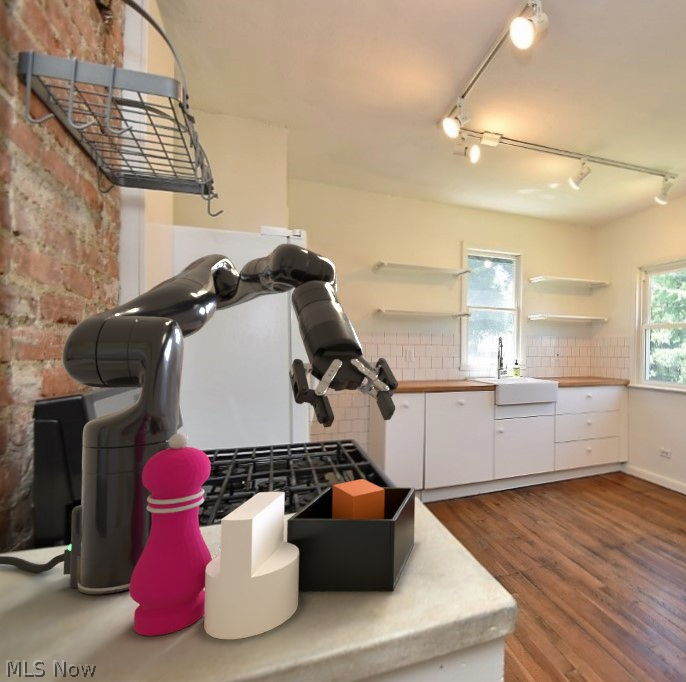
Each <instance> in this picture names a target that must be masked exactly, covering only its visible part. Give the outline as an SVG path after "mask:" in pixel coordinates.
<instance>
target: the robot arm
mask: <svg viewBox="0 0 686 682" xmlns="http://www.w3.org/2000/svg"><path fill="white" fill-rule="evenodd" d="M337 273H338V272H337V268H336V266H335V265H334V263H333V262H332V260H330V259H329V258H327V257H326V256H324V255H321V254H320V253H317V252H315V251H313V250H310V249H308V248H305V247H303V246H301V245H298V244H295V243H288V242H287V243H285V242H284V243H281V244H279V245H277V246H276V247H275V248H274V249H273V250H272V251H271V252H270V253H269V254H268V255H266V256H262V257H258V258H254V259H252V260H250V261H248V262H247V263H246V264H245V265H243V267H242V268H241V270H240V271H239V270H237V268H236V266H235V265H234V263H233V262H232V261H231V259H230V258H229V257H228V256H226V255H225V254H219V253H214V254H208V255H205V256H201V257H199V258H197V259H195V260H194V261H192V262H190V263H189V264H187V265H185V267H184V268H183V269H182V270H181V271H179V273H177V274H176V275H173V276H171V277H170V278H168V279H166V280H164V281H161V282H160V283H158V284H156V285H155V286H153V287H152V288H150V289H149V290H147V291H146V292H143V293H142V294H140V295H138V296H136V297H134V298H132V299H131V300H129V301H127V302H125V303H123V304H121V305H118V306H115V307H113V308H109V309H107V310H104V311H101V312H98V313H95V314H92V315H90V316H88V317H85V318H84V319H81V321H80V322H79V323H77V324H76V325H75V326H74V328H73V329H72V330H71V331H70V333H69V334H68V336H67V338H66V340H65V342H64V344H63V347H62V351H61V362H62V366H63V369H64V371H65V372H66V374H67V375H68V376H69V377H70V378H71V379H72V380H73V381H75V382H76V383H78V384H81V385H83V386H87V387H92V388H100V389H101V388H103V389H111V388H112V389H118V388H120V389H122V388H123V389H129V388H131V389H132V388H140V392H139V396H138V399H136V401H135V402H134V403H133V404H131V405H129V406H128V407H126V408H124V409H121V410H119V411H115V412H112V413H110V414H107V415H103V416H99V417H96V418H93V419H91V420H89V421H88V422H87V423H85V425H84V426H83V430H82V453H81V454H82V455H81V490H80V492H81V493H80V505H77V506H74V508H73V509H72V511H71V535H70V544H69V545H68V548H66V549H64V550H63V553H61V554H59V555H56V556H54V557H53V558H51V559H50V560H49V561H48V562H46V563H40V564H39V563H34V562H31V561H28V560H26V559H24V558H20V557H16V556H9V555H0V565H7V566H12V567H16V568H18V569H19V568H20V569H21V570H24V571H27V572H30V573H43V572H47V571H50V570H52V569H53V568H54V567H56V566H57V565H58V564H61V563H63V575H69V588H75V589H76V588H77V590H78V591H79V592H80V593H82V594H86V595H105V594H113V593H120V592H125V591H129V589H130V582H131V577H132V574H133V571H134V569H135V566H136V564H137V562H138V560H139V558H140V556H141V555H142V553H143V551H144V549H145V546H146V544H147V542H148V539H149V535H150V531H151V525H152V515H151V512H149V511H148V510H147V506H148V501H147V498H148V497H149V496H150V495H151V494H152V493H151V492H150V491H149V490H148V489H147V488H146V487H145V486H144V485H143V482H142V474H143V469H144V467H145V465H146V463H147V461H148V460H149V459H150V458H151V457H152V456H154V455H155V454H157V453H158V452H160V451H163V450H166V449H169V448H171V447H170V445H169V439H170V438H171V437H172V436H173V435H175V434H177V433H178V423H179V416H180V405H181V404H180V402H181V401H180V400H181V386H182V375H183V366H184V355H185V354H184V353H185V347H184V346H185V345H184V344H185V343H184V341H185V340H184V339H186V338H188V337H190V336H193V335H195V334H196V333H198V332H199V331H201V330H202V329H203V328H204V327H205V326H206V325H207V324H208V323H209V322H210V321H211V320H212V318H213V317H214V315H215V313H216V311H217V312H218V311H224V310H228V309H230V308H234V307H236V306H240V305H243V304H246V303H248V302H252V301H253V300H256V299H259V298H260V297H264V296H271V295H278V294H284V293H287V292H290V291H291V290H292V293H291V297H290V299H291V301H290V302H291V304H292V309H293V312H294V315H295V318H296V321H297V323H298V331H299V335H300V339H301V342H302V344H303V347H304V349H305V353H306V356H307V359H308V362H309V363H304V362H303V360H302V359H300V358H294V359H293V361H292V363H291V366H290V369H289V372H288V375H289V380H290V385H291V390H292V395H293V399H294V402H295V403H296V404H298V405H303V404H304V403H306V404H309V405H310V406H312V408H313V411H314V415H315V417H316V420H317V422H318V423H319V424H320V425H323V428H331V427H332V425H333V423H334V421H335V413H334V411H333V408H332V405H331V403H330V400H329V398H328V397H329V396H328V395H327V393H328V391H329V390H330V389H331V390H334V392H341V391H344V390H347V391H356V390H358V391H359V392H361V394H363V395H368V396H370V397H372V398H373V399H375V400H376V404H377V407H378V409H379V412H380V414H381V416H382V420H383V421H391V419H392V417H393V415H394V413H395V411H396V404H394V401H393V399H392V398H393V396H394V395H395V394H394V393H395V392H396V391H397V388H398V387H399V382H398V381H397V379H396V377H395V375H394V373H393V371H392V369H391V367H390V365H389V363H388V361H387V360H386V358H384V357H379V358H378V359H377V361H371V362H369V360H367V359H366V358H365V356H364V354H363V348H362V345H361V343H360V341H359V338H358V336H357V334H356V331H355V329H354V327H353V325H352V321H350V318H349V316H348V313H346V311H345V310H344V307H343V305H342V303H341V301H340V298H339V296H338V285H337V284H338V283H337V276H338V275H337ZM309 374H311V376H312V377H313V378H315V379H317V380H318V381H319V383H318V385H317V386H316V388H315V389H312V388H310V386H309V382H308V375H309ZM365 379H366V380H367V382H366V384H365V383H364V381H365Z"/></svg>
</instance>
